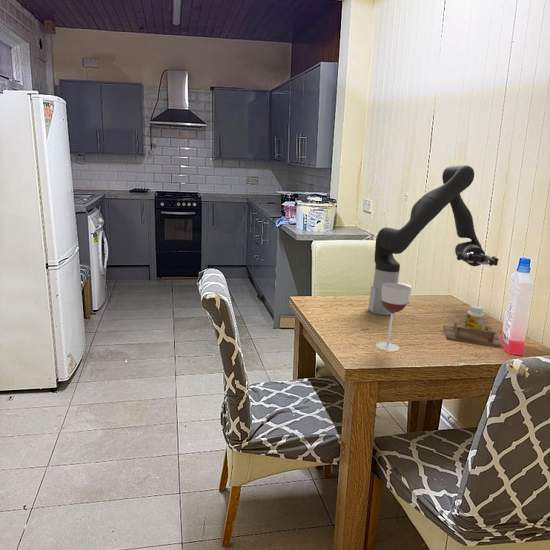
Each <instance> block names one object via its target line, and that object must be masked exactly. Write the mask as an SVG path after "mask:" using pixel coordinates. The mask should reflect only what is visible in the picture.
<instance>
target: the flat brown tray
mask: <svg viewBox="0 0 550 550" xmlns="http://www.w3.org/2000/svg"><path fill="white" fill-rule="evenodd" d="M453 322H454V323H453V326H452V325H446V324H444V325H443V331H444V334H445V338H446V340H450V341H456V342H461V343H462V342H463V343H470V344H477V345H481V344H482V345H481V346H483V345H484V346H488V345H489V347H494V346H498V347H497V348H501V347H500V346H502V345H503V344H502V345H501V343H502V341H501V339H500V338H499V336H498V335H497V333H496V332H495V331H494V330H493V327H492V326H491V324H485V325H484V328H483V329H481V330H480V329H473V328H466V327H465V326H462V325H461V322H460V320H459V319H454V321H453Z"/></svg>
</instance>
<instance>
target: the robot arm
mask: <svg viewBox="0 0 550 550" xmlns="http://www.w3.org/2000/svg"><path fill="white" fill-rule="evenodd" d="M441 178H442V183H443V184H442V185H440V186H438V187H435V188H434V189H432V190H430V191H428V192H427V193H425V194H424V195H423V196H422V197H420V198H419V199H418V200H417V201H416V202H415V203H414V204H413V206H412V208H411V211H410V217H409V218H410V219H409V220H408V221H407V222H406V224H405V225H404V226H402V227H401V228H399V229H397V228H392V227H387V226H386V227H383V228H381V229H379V231H378V233H377V235H376V238H375V246H374V264H375V269H374V275H373V283H372V286H371V287H370V294H369V301H368V308H367V309H368V311H369V312H370V313H371V314H373V315H374V314H375V315H379V316H391V312H389V311H388V310H387V309H386V308H384V306H383V304H382V284H383V283H399V276H400V269H401V264H400V263H399V262H398V261H397V260H396V259H395V257H394V255H400V254H402V253H404V252H405V250H407V249H408V248H409V246H410V245H411V244H412V242H413V241H414V240H415V239H416V237H417V236H418V235H419V234H420V233H421V232H422V230H423V229H424V228H426V226H428V225H429V224H430V222H432V220H434V219H435V218H436V217H437V216H438V215H439V214H440V213H441V212H442V210H443V209H444V208H446V207H447V206H448V205H449V204H450V207H451V211H452V213H453V219H454V223H455V229H456V235H457V237H458V238H461V239H469V240H470V241H465V242H459V243H457V245H456V246H455V248H454V253H455V255H456V260H457V261H462V262H464V263H466V264H468V265H469V266H470V267H479V266H481V265H485V266H487V265H489V266H490V267H492V266H498V263H499V260H500V259H499V258H498V257H496V256H491V257H490V255H488V254H486V253H485V250H483V248H482V245H481V243H480V241H479V239H478V237H477V235H476V231H475V230H476V229H475V224H474V218H473V214H472V212H471V211H470V209H469V208H468V206H467V204H465V201H464V200H463V198H462V196H461V193H462V192H464V191H465V190H467V189H468V188H469V187H470V186H471V185H472V183H473V182H474V178H475V171H474V168H473V167H472V166H470V165H467V164H460V165H450V166H448V167H446V168H445V169H443V172H442V177H441ZM393 254H394V255H393Z"/></svg>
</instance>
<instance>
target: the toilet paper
mask: <svg viewBox="0 0 550 550" xmlns="http://www.w3.org/2000/svg"><path fill="white" fill-rule="evenodd" d="M398 284H403V285H406V286H408V287H410V293H409V297H408V300H407V303H406V304H409V303H410V299H411V294H412V287H413V286H412V285H410V284H408V283H402V282H398ZM408 302H409V303H408Z"/></svg>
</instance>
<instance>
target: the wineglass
mask: <svg viewBox="0 0 550 550" xmlns="http://www.w3.org/2000/svg"><path fill="white" fill-rule="evenodd" d="M398 283H399V282H398ZM398 283H383V284H382V304H383V306H384V308H386V309H387V310H388V311H389V312H391V315H390V318H389V319H390V320H389V324H388V325H389V326H388V333H387V340H386V341H385V342H384V341H382V342H381V341H380V342H377V343H376V344H375V346H376V347H377V348H378V349H381V350H384V351H389V352H396V351H399V350H400V346H398V345H397V344H396V343H395V344H394V343H392V342H390V341H391V335H392V327H393V322H394V321H393V318H394V314H395V313H398V312H401V311H403V310H404V309H405V308H406V306H407V304H408V303H407V300H408V297H409V293H410V287H408V286H406V285H403V284H404V283H403V284H398Z"/></svg>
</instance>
